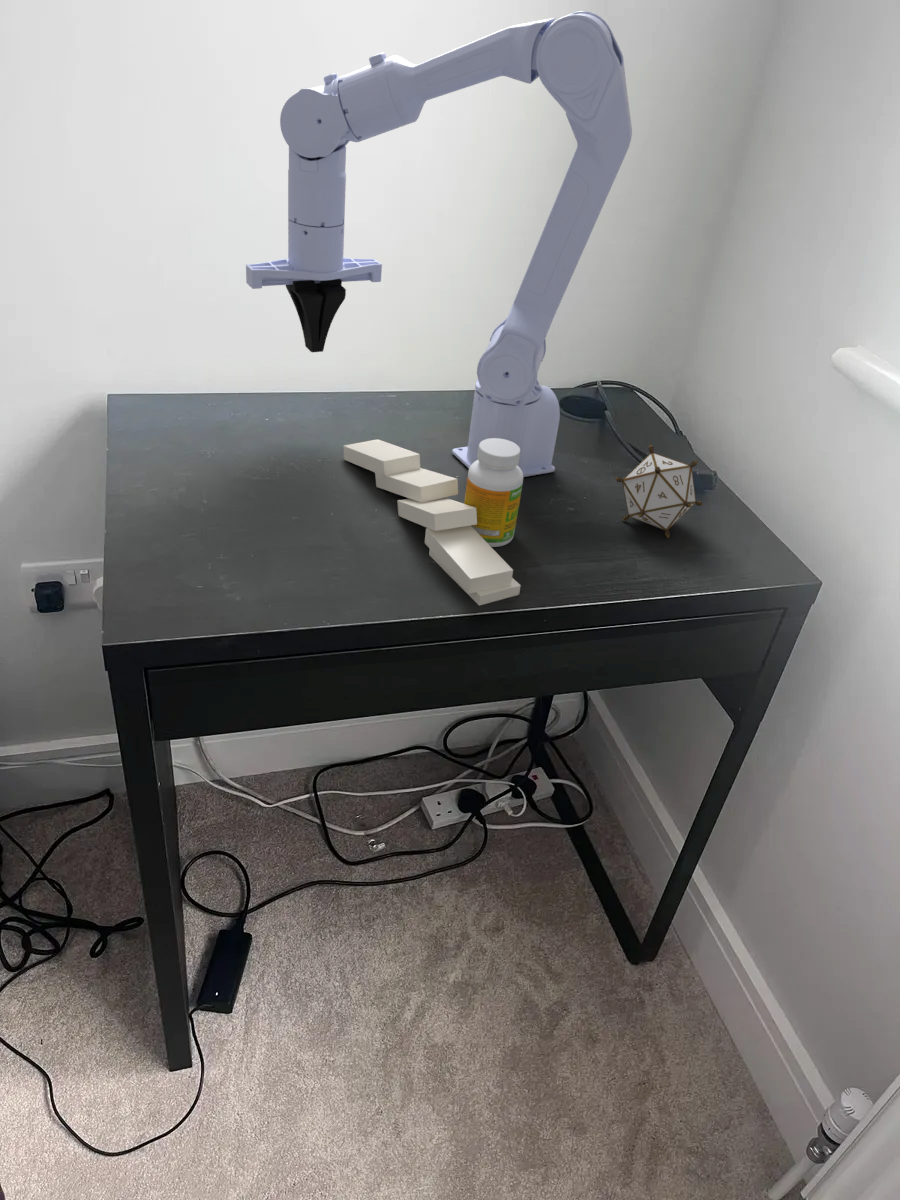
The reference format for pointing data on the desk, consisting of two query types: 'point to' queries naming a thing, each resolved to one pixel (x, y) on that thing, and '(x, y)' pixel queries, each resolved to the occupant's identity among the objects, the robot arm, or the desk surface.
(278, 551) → the desk surface
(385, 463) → the domino
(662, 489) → the game die
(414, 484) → the domino
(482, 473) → the supplement bottle
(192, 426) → the desk surface
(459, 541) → the domino
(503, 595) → the domino
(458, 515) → the domino
